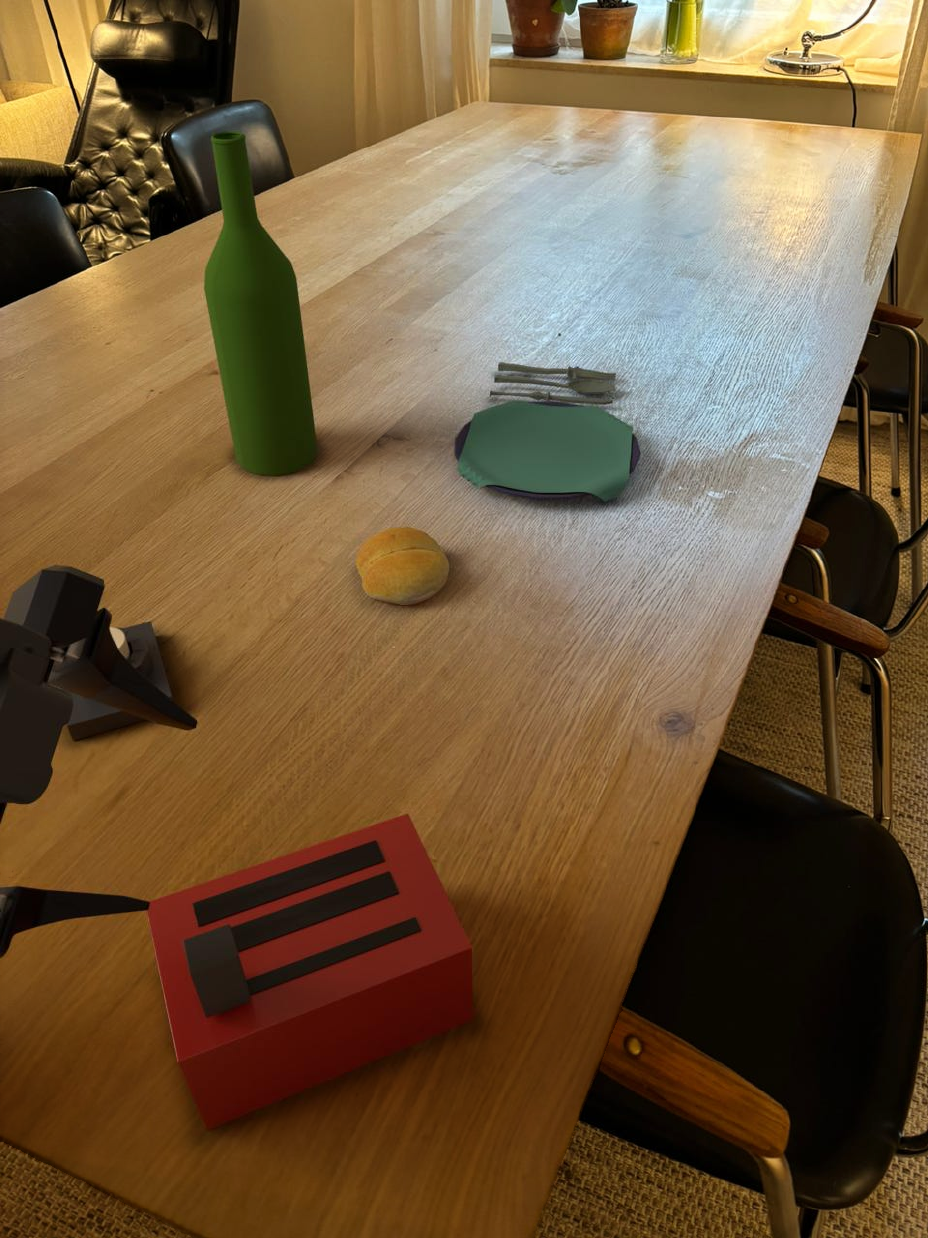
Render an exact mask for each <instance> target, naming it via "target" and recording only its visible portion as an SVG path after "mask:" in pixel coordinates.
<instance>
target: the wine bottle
mask: <svg viewBox="0 0 928 1238" xmlns="http://www.w3.org/2000/svg"><path fill="white" fill-rule="evenodd" d="M246 138H247V137H246V135H245V133H242V132H240V131H235V130H227V131H219V132H216V133H214V134H213V135H212V136H211V137H210V141H211V144H212V152H213V158H214V159H213V160H214V165H215V172H216V178H217V186H218V194H219V198H220V199H219V200H220V205H221V212H222V219H223V223H222V228H221V230H220V233H219V235H218V237H217V239H216V242H215V244H214V246H213V249H212V251H211V254H210V256H209V259H208V261H207V263H206V266H205V267H204V280H203V290H204V296H205V301H206V306H207V307H206V308H207V312H208V317H209V322H210V323H209V324H210V328H211V333H212V338H213V344H214V350H215V354H216V359H217V365H218V370H219V377H220V382H221V387H222V392H223V398H224V404H225V408H226V413H227V420H228V424H229V430H230V434H231V435H230V436H231V440H232V446H233V451H234V455H235V456H234V457H235V459H236V461H237V463H238V464H239V466H240V467H241V468H242V469H243V470H244V471H246V472H247V473H248V472H249V473H250V474H253V475H258V476H263V477H264V476H265V477H275V476H284V475H290V474H293V473H296V472H299V471H301V470H303V469H305V468H306V467H308V466H310V465H311V463H312V462H313V461H315V459H316V456H317V453H318V441H317V433H316V425H315V424H316V423H315V417H314V409H313V401H312V392H311V386H310V385H311V384H310V378H309V368H308V362H307V353H306V345H305V337H304V336H305V335H304V330H303V329H304V328H303V320H302V313H301V305H300V304H301V303H300V296H299V288H298V280H297V275H296V272H295V269H294V267H293V264H292V262H291V261H290V259H289V257H287V255H286V254H285V253H284V252H283V250H282V249H281V248H280V247H279V245H278V244H277V243H276V241H275V240H274V239H273V238H272V237H271V235H270V234H269V232H268V231H267V230H266V229H265V227H264V226H263V225H262V223H261V221H260V219H259V217H258V212H257V206H256V199H255V192H254V185H253V181H252V174H251V168H250V167H251V166H250V162H249V155H248V149H247V143H246Z"/></svg>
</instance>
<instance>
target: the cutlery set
mask: <svg viewBox="0 0 928 1238" xmlns="http://www.w3.org/2000/svg"><path fill="white" fill-rule="evenodd" d="M497 371H498V372H515V373H516V372H517V373H523V374H530V375H531V374H532V375H545V376H546V375H547V376H548V375H567V377H568V378H569V379H572V380H571V381H568V382H566V383H565V384H564V383H560V382H556V381H555V382H554V381H547V380H541V379H536V378H529V377H519V376H512V375H511V376H510V375H503V374H502V375H501V374H494V378H493V380H494V381H493V382H494V384H523V385H525V384H526V385H537V386H545V387H555V388H562V389H567V390H571V391H574V392H576V393H577V394H580V395H584V396H597V395H603V394H606V393H610V392H612V391H614V390H616V385H615V384H613V383H610V382H609V381H615V380H616V378H617V377H616V376H617V372H603V371H598V370H594V369H586V368H582V367H579V366H578V365H576V366H575V367H572V366H570V365H568V367H567V368H560V367H559V368H558V367H555V368H554V367H553V368H550V367H549V368H546V367H536V366H530V365H523V364H518V363H507V362H502V361H501V362H498V364H497ZM492 396H505V397H507V396H508V397H509V396H510V397H521V398H522V397H524V398H531V399H532V400H536V401H522V400H509V401H506V402H503V403H499V404H495V405H493V406H490V407H488V408H486V409H482V410H480V411H478V412H475V413H473V415H472V418H471V420H470V421H468V422H467V423H466V424H464V425H463V427H462V428H461V430H459V433H458V434H457V435H456V437H455V438H454V457H455V459H456V461H457V471H458V473H459V475H460V476H461V477H462V478H464V479H465V480H466V481H467V482H469V483H471V485H473V486H474V487H476V488H477V489H479V488H481V487H486V488H489V489H490V490H494V491H497V492H498V493H502V494H504V495H506V496H512V497H518V498H523V499H528V500H535V501H567V500H573V499H578V498H583V497H584V498H585V497H588V496H596V497H598V498H599V499H601V500H602V501H604V502H605V503H608V502H609V501H611V500H613V499H615V498H617V497H618V496H619V495H620V494H622V493H623V492H624V491H625V490H626V487H627V485H628V482H629V477H630V476H631V474H633V473H634V472H635V469H637V465H638V462H639V459H640V458H641V455H642V453H641V448H640V444H639V440H638V437H637V436H635V434H634V433H633V429H634V428H633V426H631V425H629V424H628V423H627V422H626V421H623V420H621V418H618V417H616V416H615V415H614V414H612V413H609V411H606V410H604V409H603V408H600V407H598V405H599V406H606V405H611V404H613V403H614V399H609V398H595V397H581V396H567V395H553V394H551V391H548V392H546V393H544V392H542V391H539V390H538V391H534V392H529V393H528V392H504V391H495V390H494V391H493V390H492V389H490V391H489V398H491V397H492ZM541 400H544V401H541ZM580 404H581V405H580ZM586 405H595V406H586ZM596 405H597V406H596Z"/></svg>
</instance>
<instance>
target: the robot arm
mask: <svg viewBox="0 0 928 1238" xmlns="http://www.w3.org/2000/svg"><path fill="white" fill-rule="evenodd" d="M105 588H106V586H105V579H103V578H101V577H99V576H96V575H94V574H91V573H89V572H86V571H83V570H82V569H79V568H76V567H74V566H69V565H60V564H55V565H51V566H48V567H46V568H42V569H40V570H39V571H38V572H37V573H35V574H34V575H32V576H31V577H30V578H29V579H28V580H27V581H25V582H24V583H22V584H21V585H20V586H19V587H17V588H16V589H15V590H13V592H12V593H11V596H10V599H9V602H8V605H7V607H6V610H5V613H4V615H3V618H1V617H0V825H1V823H2V820H3V817H4V815H5V811H6V808H7V805H8V804H15V805H31V804H33V803H34V802H36V801H37V800H39V799H40V798H41V797H42V796H43V795H44V793H46V791H47V789H48V787H49V785H50V782H51V779H52V777H53V773H54V769H53V765H52V763H53V759H54V756H55V753H56V749H57V747H58V743H59V741H60V737H61V734H62V731H63V729H64V726H67V723H68V722H69V720H70V717H71V714H72V710H73V700H72V697H71V695H70V694H69V693H68V692H66V691H63V690H61V689H64V690H67V691H70V692H72V693H75V694H78V695H81V696H83V697H87V698H89V699H92V700H94V701H97V702H100V703H103V704H105V705H108V706H111V707H114V708H116V709H119V710H122V711H124V712H127V713H130V714H133V715H135V716H138V717H141V718H144V719H146V720H145V721H149V722H151V723H155V724H158V725H161V726H165V727H169V728H175V729H178V730H183V731H192V730H195V729H197V726H198V723H199V722H198V719H196V718H195V717H194V716H193V715H191V714H190V712H188V711H186V710H185V709H184V708H183V707H182V706H181V705H179V704H178V703H177V702H176V701H174V699H173V700H172V699H171V698H169V697H168V696H167V695H166V694H164V693H163V692H162V691H161V690H160V689H158V688H157V687H156V686H155V685H154V684H152V683H151V682H150V681H149V680H148V679H146V678H145V677H144V676H143V675H142V674H141V673H139V672H138V671H137V670H136V669H135V668H134V667H133V665H132V664H131V663H130V662H129V661H128V660H127V659H126V658H125V657H124V656H123V655H122V654H121V652H120V651H119V650H118V648H117V645H116V643H115V641H114V639H113V637H112V634H111V632H110V627H111V623H112V620H113V614H112V613H111V612H110V610H109V609H108V608H106V607H101V608H100V609H99V606H100V604H101V600H102V597H103V595H104V592H105ZM149 905H150V902H149V901H147V900H144V899H140V898H136V897H131V896H127V895H121V894H107V893H93V892H82V891H70V890H69V891H68V890H55V889H45V888H44V889H43V888H37V887H28V886H22V885H13V886H2V887H0V959H2V958H4V956H5V955H7V952H8V951H9V949H10V946H11V944H12V940H13V938H14V936H16V935H18V934H20V933H23V932H26V931H29V930H32V929H35V928H38V927H39V928H40V927H43V926H46V925H50V924H51V925H52V924H55V923H59V922H63V921H68V920H74V919H82V918H89V917H90V918H92V917H99V916H109V915H110V916H111V915H118V914H127V913H136V912H137V913H138V912H146V910H148V909H149Z"/></svg>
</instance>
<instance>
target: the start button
mask: <svg viewBox="0 0 928 1238" xmlns="http://www.w3.org/2000/svg"><path fill="white" fill-rule="evenodd" d="M114 627H115V626H110V632H111V634H112V637H113V639H114V641H115V643H116V645H117V648H118V650H119V651H120V652H121V654H122V655H123V656H124V657H125V658H126V659H127V660H128V659H129V656H130V650H129V647H128V644H127V641H126V638H125V635H124V633H123V632H122V631H121V630H119V629H117V628H118V627H117V628H114Z"/></svg>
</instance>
